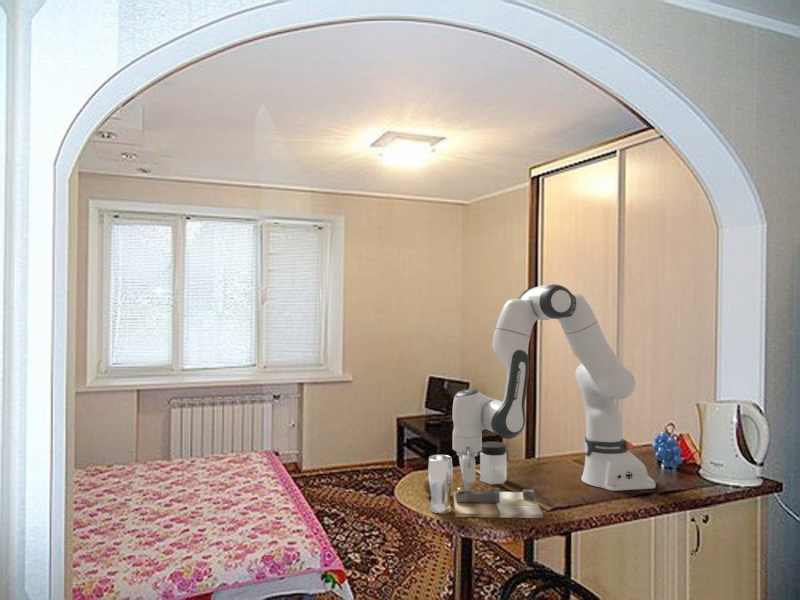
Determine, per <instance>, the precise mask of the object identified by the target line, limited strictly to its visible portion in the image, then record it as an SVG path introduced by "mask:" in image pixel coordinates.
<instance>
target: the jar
mask: <svg viewBox="0 0 800 600" xmlns="http://www.w3.org/2000/svg"><path fill="white" fill-rule="evenodd" d="M506 447H507V446H506V444H505V443H504V442H501V441H484V442H482V450H481V451H480V453H479V462H480V463H479V466H480V467H479V469H480V470H479V471H480V476H479V478H480V480H479V481H480V482H482V483H485V484H487V485H490V486H491V485H504V484H505V483H506V481H507V479H508V478H507V477H508V475H507V473H508V472H507V471H508V470H507V466H508V465H507V448H506Z"/></svg>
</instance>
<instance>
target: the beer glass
mask: <svg viewBox="0 0 800 600" xmlns="http://www.w3.org/2000/svg"><path fill="white" fill-rule="evenodd" d="M453 468H454V467H453V459H452V456H450V455H447V454H433V455H430V456H429V457H428V466H427V469H428V472H427V473H428V475H427V476H428V477H429V484H430V490H431V496H430V506H429V510H431V511H432V512H431V511H430V512H431V513H433V512H434V514H436V513H439V514H438V515H447V514H449V513H451V511H452V506H451V491H452V484H453V476H454V472H453Z"/></svg>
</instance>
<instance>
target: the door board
mask: <svg viewBox="0 0 800 600" xmlns="http://www.w3.org/2000/svg"><path fill="white" fill-rule="evenodd" d="M456 491H457V490H454V491H452V498H453V499H452V500H453V507H454V515H455V518H506V519H507V518H511V519H512V518H515V519H544V513H543V511H542V510H541V507H540V505H539V503H538V501H537V500H536V497H535V491H534V489H527V488H526V489H522V491H500V502H498V503H478V502H456Z"/></svg>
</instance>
